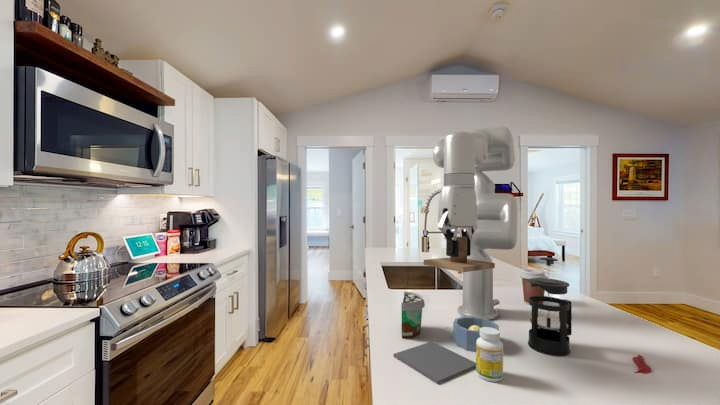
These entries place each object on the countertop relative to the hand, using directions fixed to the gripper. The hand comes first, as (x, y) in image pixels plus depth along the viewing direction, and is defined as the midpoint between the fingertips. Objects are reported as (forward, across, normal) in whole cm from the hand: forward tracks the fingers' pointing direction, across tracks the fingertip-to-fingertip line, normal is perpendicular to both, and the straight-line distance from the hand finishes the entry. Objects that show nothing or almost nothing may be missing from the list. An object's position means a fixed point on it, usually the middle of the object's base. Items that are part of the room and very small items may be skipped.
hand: (458, 254), depth 78 cm
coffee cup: (+23, -57, -10) cm, 62 cm away
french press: (+24, -22, +11) cm, 35 cm away
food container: (+24, 0, -15) cm, 28 cm away
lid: (+3, 0, 0) cm, 3 cm away
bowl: (+24, -8, -1) cm, 25 cm away
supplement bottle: (+24, +3, +11) cm, 27 cm away
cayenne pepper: (+24, -30, +27) cm, 48 cm away
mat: (+24, +8, 0) cm, 25 cm away
